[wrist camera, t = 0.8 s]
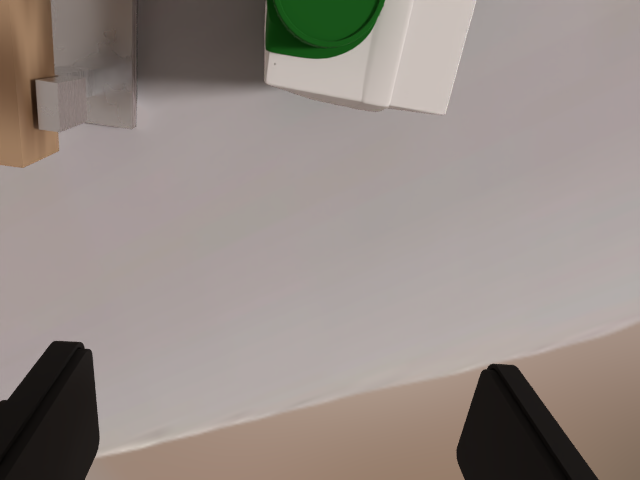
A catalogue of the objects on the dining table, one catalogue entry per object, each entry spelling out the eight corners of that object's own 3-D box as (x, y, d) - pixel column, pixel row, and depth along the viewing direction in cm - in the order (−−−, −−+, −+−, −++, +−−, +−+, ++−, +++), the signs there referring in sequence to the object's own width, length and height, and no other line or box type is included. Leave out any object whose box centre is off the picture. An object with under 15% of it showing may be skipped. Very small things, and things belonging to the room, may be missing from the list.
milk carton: (280, -59, 32) (278, -202, 13) (404, -32, 33) (558, -128, 15) (264, 73, 35) (244, 104, 17) (377, 93, 36) (476, 143, 18)
